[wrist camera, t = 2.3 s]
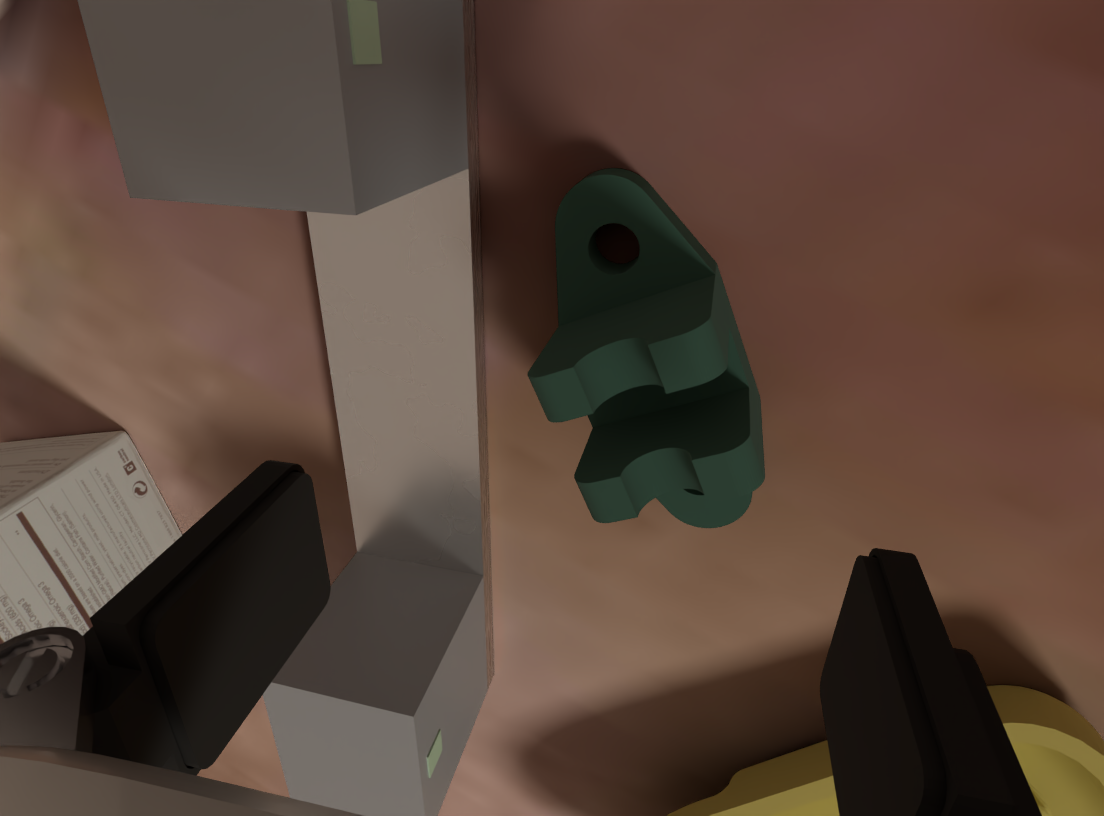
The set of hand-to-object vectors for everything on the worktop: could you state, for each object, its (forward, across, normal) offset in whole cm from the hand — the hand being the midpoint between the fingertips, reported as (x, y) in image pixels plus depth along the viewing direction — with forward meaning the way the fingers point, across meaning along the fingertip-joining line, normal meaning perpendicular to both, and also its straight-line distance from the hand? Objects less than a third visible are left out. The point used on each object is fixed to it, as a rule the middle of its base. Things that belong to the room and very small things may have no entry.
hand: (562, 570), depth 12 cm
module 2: (+9, +7, +12) cm, 17 cm away
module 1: (+9, +7, -8) cm, 14 cm away
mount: (+10, -1, 0) cm, 10 cm away
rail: (+10, +7, +2) cm, 12 cm away
